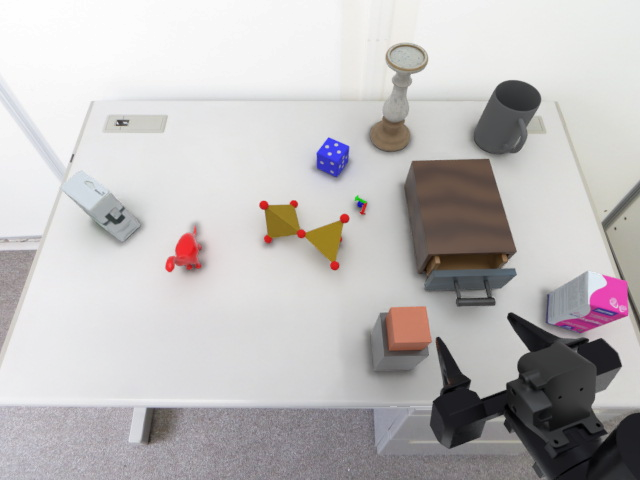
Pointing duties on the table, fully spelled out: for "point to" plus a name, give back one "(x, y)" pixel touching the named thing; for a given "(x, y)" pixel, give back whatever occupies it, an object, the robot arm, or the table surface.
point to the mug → (507, 117)
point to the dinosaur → (185, 253)
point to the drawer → (469, 276)
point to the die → (332, 157)
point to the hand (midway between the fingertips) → (473, 326)
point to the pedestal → (392, 359)
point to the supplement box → (587, 302)
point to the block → (408, 328)
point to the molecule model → (324, 238)
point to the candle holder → (398, 96)
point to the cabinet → (456, 210)
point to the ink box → (100, 205)
